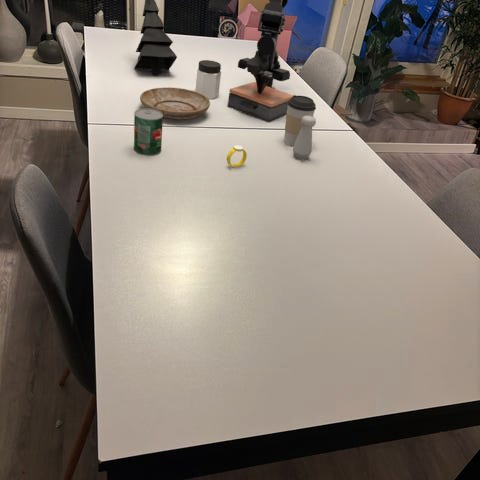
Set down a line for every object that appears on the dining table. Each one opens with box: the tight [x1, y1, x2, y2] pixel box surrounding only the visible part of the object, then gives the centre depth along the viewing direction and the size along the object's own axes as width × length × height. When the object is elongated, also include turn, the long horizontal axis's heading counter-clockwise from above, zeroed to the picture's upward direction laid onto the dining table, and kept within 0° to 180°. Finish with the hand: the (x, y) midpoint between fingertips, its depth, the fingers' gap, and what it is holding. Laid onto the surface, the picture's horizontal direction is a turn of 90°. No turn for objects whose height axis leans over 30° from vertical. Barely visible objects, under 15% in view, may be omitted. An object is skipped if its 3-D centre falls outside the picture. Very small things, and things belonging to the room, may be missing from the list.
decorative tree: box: [133, 0, 178, 76], centre depth 201 cm, size 15×15×35 cm
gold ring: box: [226, 144, 248, 168], centre depth 143 cm, size 6×3×6 cm, turn 123°
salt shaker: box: [292, 116, 317, 161], centre depth 152 cm, size 6×6×13 cm
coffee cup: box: [283, 94, 317, 148], centre depth 160 cm, size 9×9×15 cm
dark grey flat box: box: [227, 92, 289, 123], centre depth 184 cm, size 18×18×5 cm
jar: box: [194, 59, 222, 100], centre depth 187 cm, size 9×8×12 cm
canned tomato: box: [133, 107, 164, 157], centre depth 143 cm, size 8×8×11 cm
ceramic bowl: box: [139, 86, 211, 120], centre depth 171 cm, size 23×24×5 cm
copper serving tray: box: [229, 81, 293, 107], centre depth 182 cm, size 16×18×1 cm
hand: (259, 93), depth 181 cm, fingers closed, pressing on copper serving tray
